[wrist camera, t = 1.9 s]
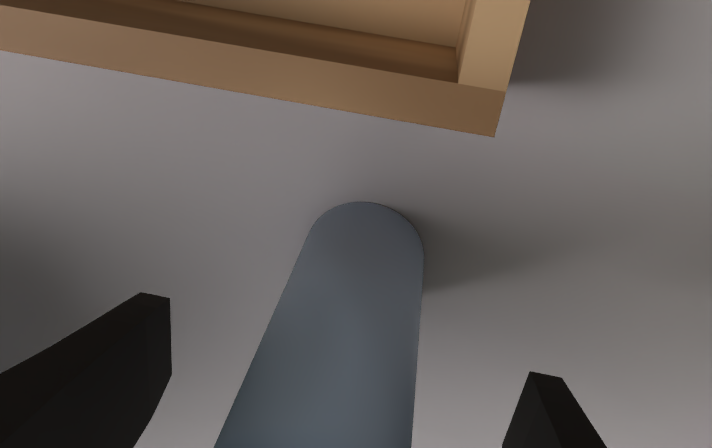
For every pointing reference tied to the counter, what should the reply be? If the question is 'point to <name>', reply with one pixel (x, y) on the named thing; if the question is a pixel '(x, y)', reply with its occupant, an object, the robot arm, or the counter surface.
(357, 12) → the tray box
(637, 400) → the counter surface
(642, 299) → the counter surface
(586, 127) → the counter surface
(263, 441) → the dowel
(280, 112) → the counter surface
